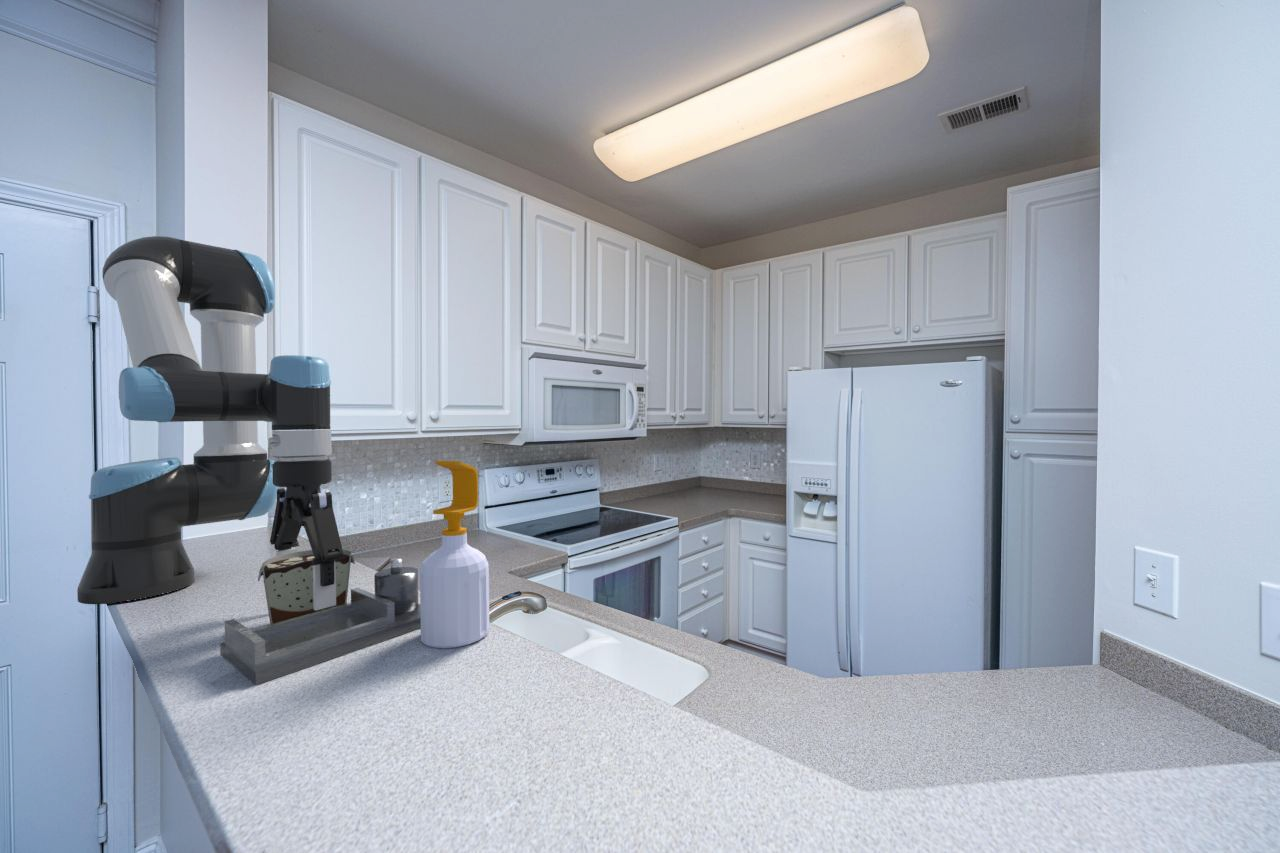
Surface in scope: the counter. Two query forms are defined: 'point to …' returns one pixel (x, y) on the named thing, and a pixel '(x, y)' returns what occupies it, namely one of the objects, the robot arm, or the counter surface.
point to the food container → (299, 584)
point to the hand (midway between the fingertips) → (305, 598)
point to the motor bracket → (327, 628)
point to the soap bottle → (455, 573)
